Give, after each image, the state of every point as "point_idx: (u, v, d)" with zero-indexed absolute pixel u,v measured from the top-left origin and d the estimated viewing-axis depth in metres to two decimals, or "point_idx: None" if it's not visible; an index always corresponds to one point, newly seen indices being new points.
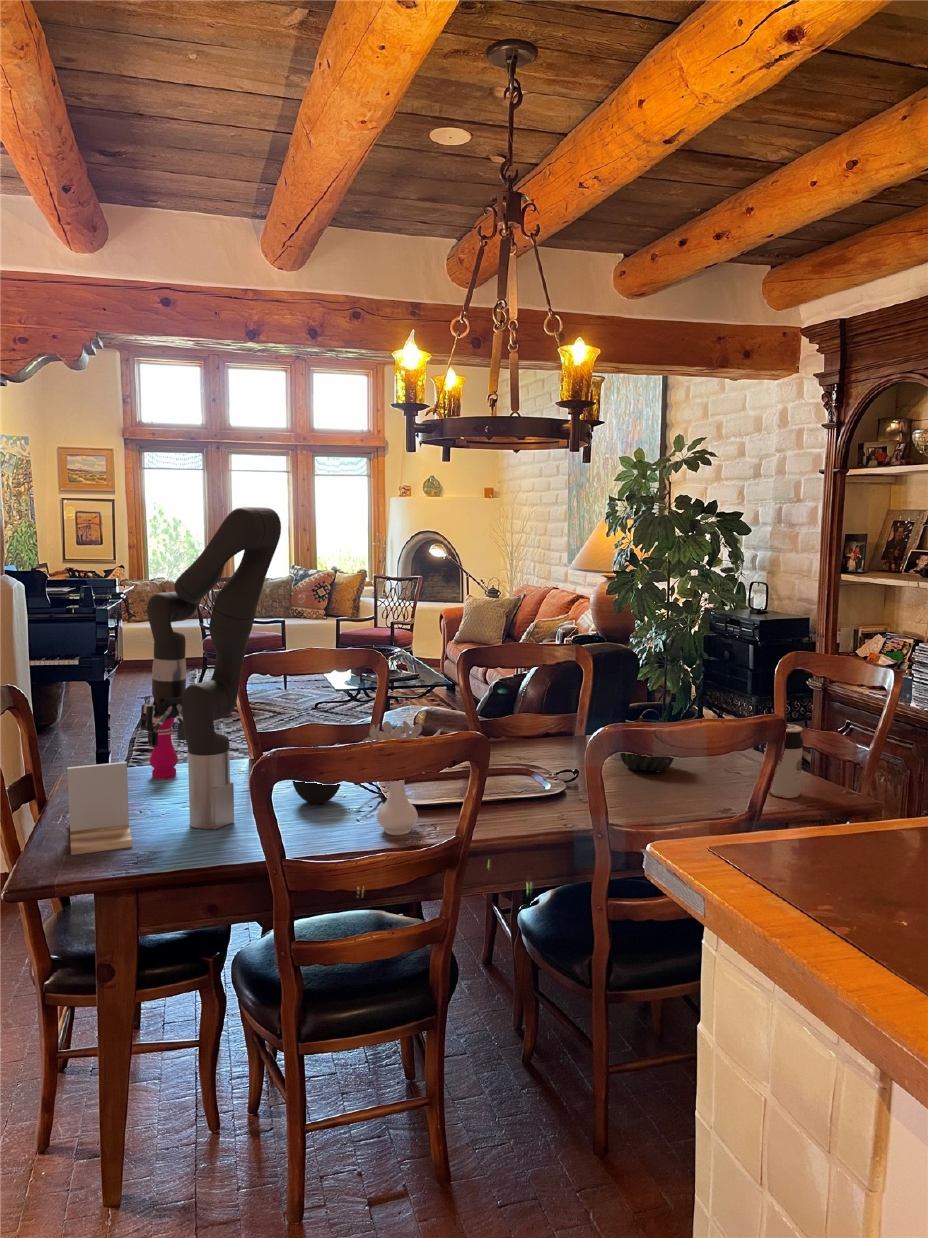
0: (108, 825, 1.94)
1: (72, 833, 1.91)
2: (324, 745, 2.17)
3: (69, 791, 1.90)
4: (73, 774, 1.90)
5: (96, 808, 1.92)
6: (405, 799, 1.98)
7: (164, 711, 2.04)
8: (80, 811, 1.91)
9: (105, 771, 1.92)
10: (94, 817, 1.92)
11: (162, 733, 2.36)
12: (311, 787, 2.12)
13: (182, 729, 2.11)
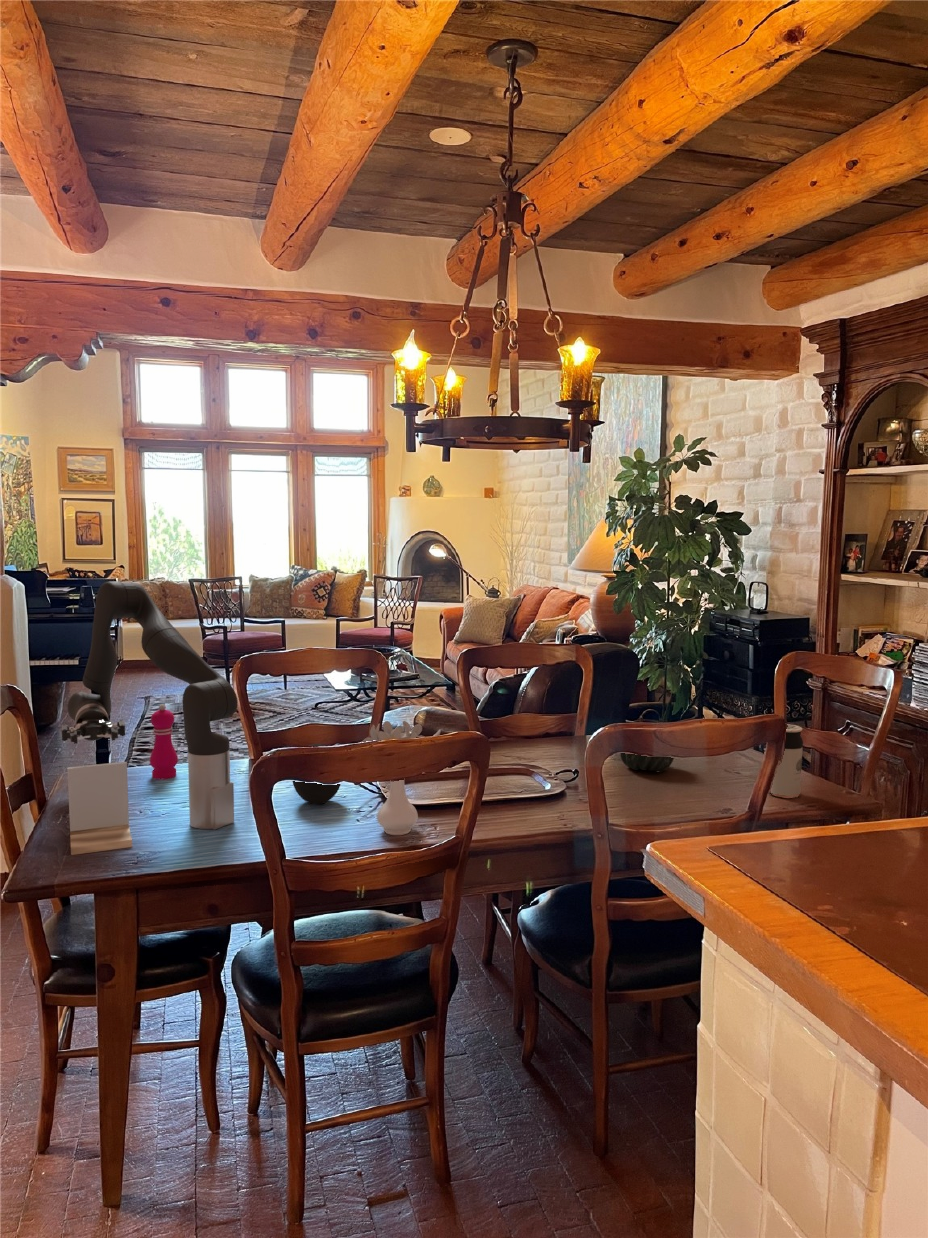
0: (108, 825, 1.94)
1: (72, 833, 1.91)
2: (324, 745, 2.17)
3: (69, 791, 1.90)
4: (73, 774, 1.90)
5: (96, 808, 1.92)
6: (405, 799, 1.98)
7: None
8: (80, 811, 1.91)
9: (105, 771, 1.92)
10: (94, 817, 1.92)
11: (162, 733, 2.36)
12: (311, 787, 2.12)
13: None
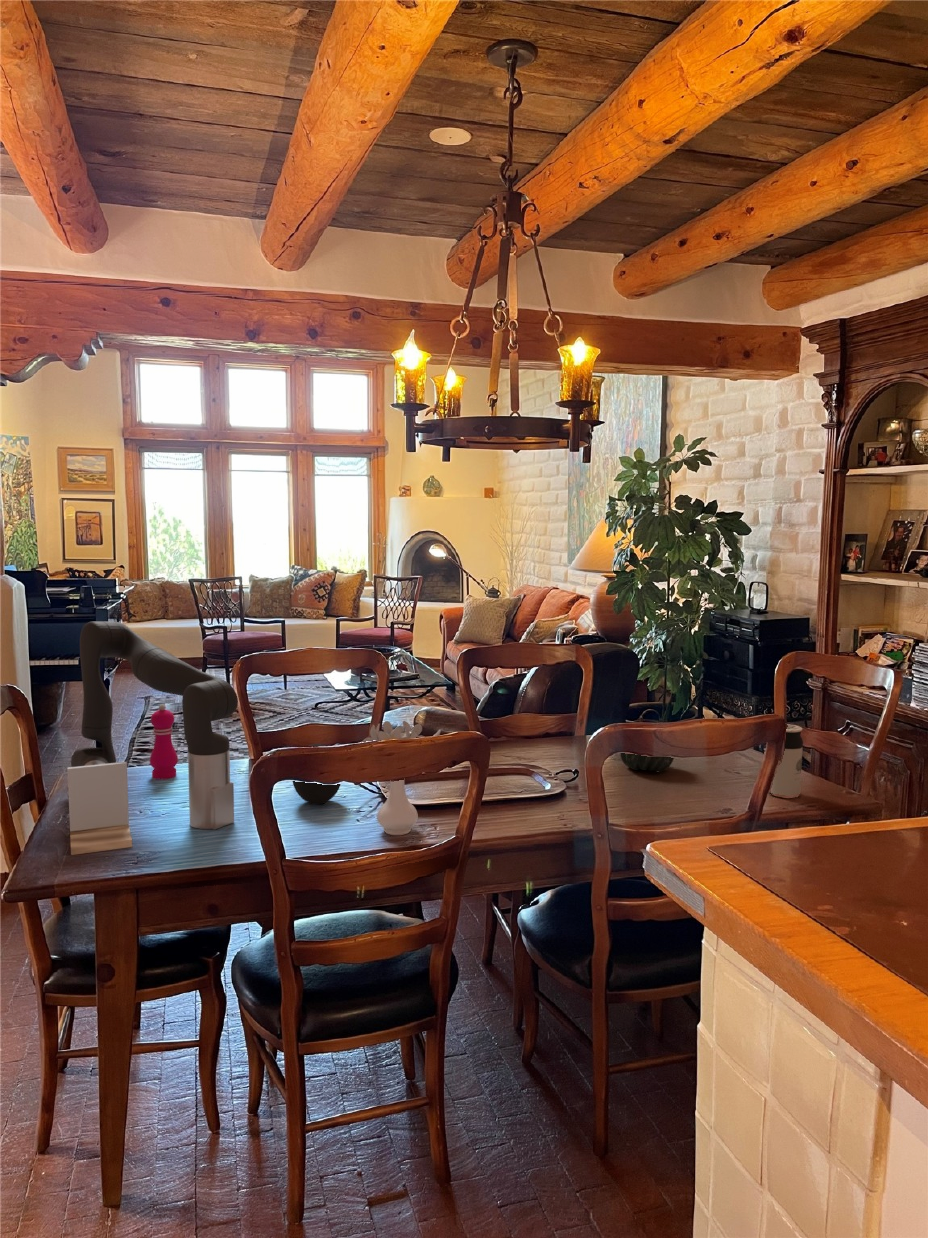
0: (108, 825, 1.94)
1: (72, 833, 1.91)
2: (324, 745, 2.17)
3: (69, 791, 1.90)
4: (73, 774, 1.90)
5: (96, 808, 1.92)
6: (405, 799, 1.98)
7: None
8: (80, 811, 1.91)
9: (105, 771, 1.92)
10: (94, 817, 1.92)
11: (162, 733, 2.36)
12: (311, 787, 2.12)
13: None
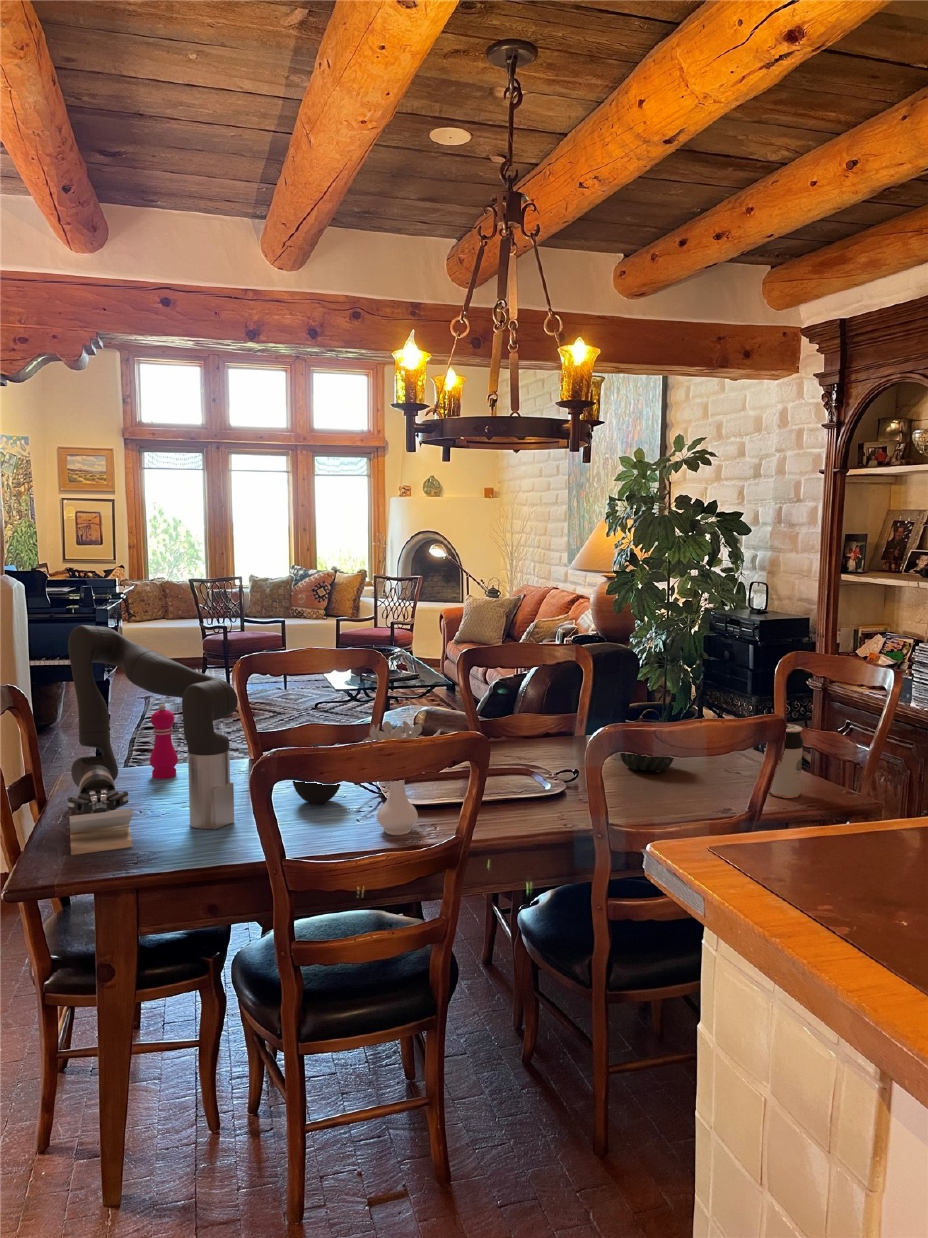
0: (108, 827, 1.93)
1: (72, 833, 1.91)
2: (324, 745, 2.17)
3: (70, 826, 1.83)
4: (75, 822, 1.80)
5: (97, 826, 1.89)
6: (405, 799, 1.98)
7: (89, 794, 1.93)
8: (81, 828, 1.88)
9: (108, 818, 1.83)
10: (95, 827, 1.90)
11: (162, 733, 2.36)
12: (311, 787, 2.12)
13: (99, 806, 1.88)
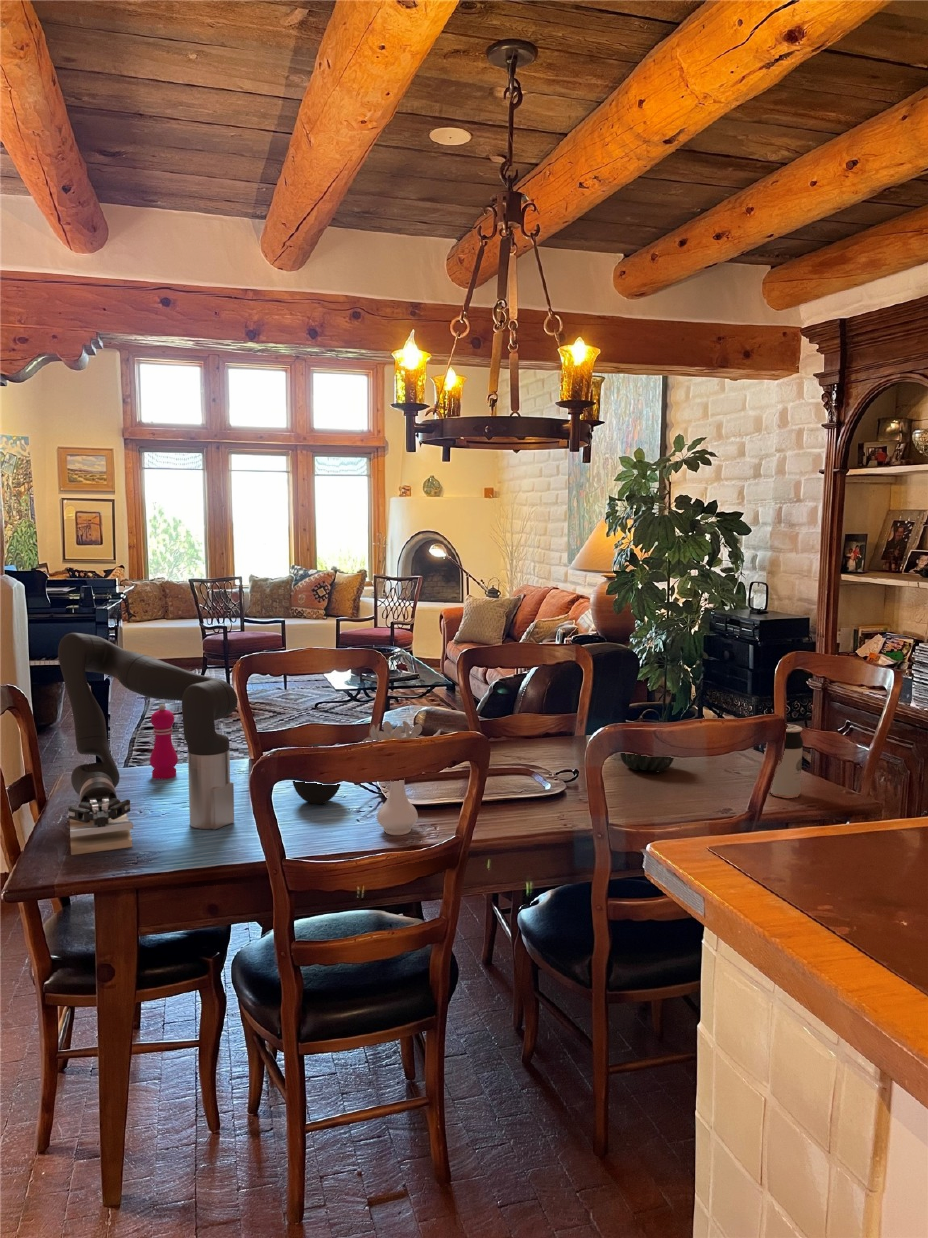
0: None
1: None
2: (324, 745, 2.17)
3: None
4: None
5: None
6: (405, 799, 1.98)
7: (90, 803, 1.87)
8: None
9: None
10: None
11: (162, 733, 2.36)
12: (311, 787, 2.12)
13: None
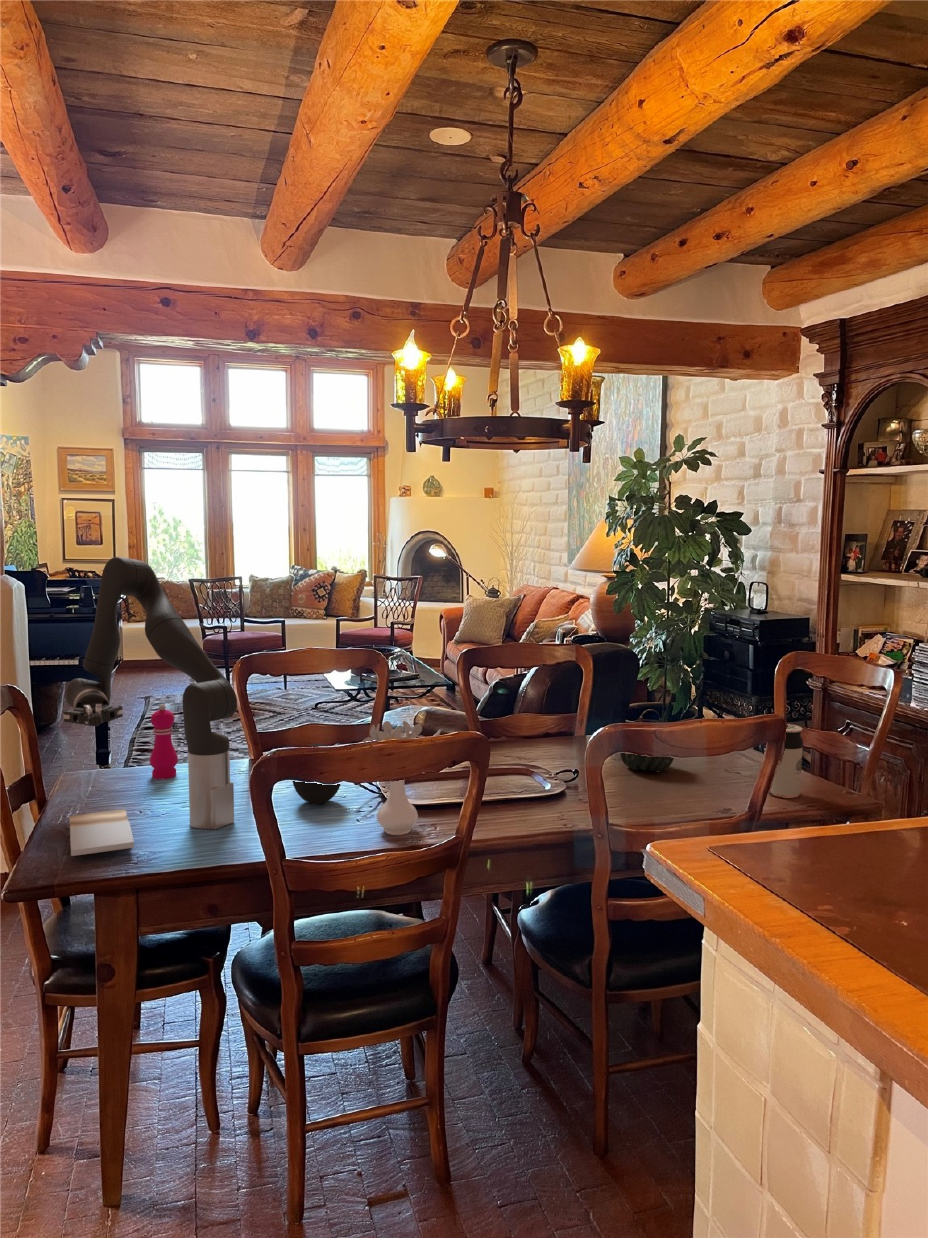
0: None
1: None
2: (324, 745, 2.17)
3: None
4: None
5: None
6: (405, 799, 1.98)
7: (84, 708, 1.97)
8: None
9: None
10: None
11: (162, 733, 2.36)
12: (311, 787, 2.12)
13: None
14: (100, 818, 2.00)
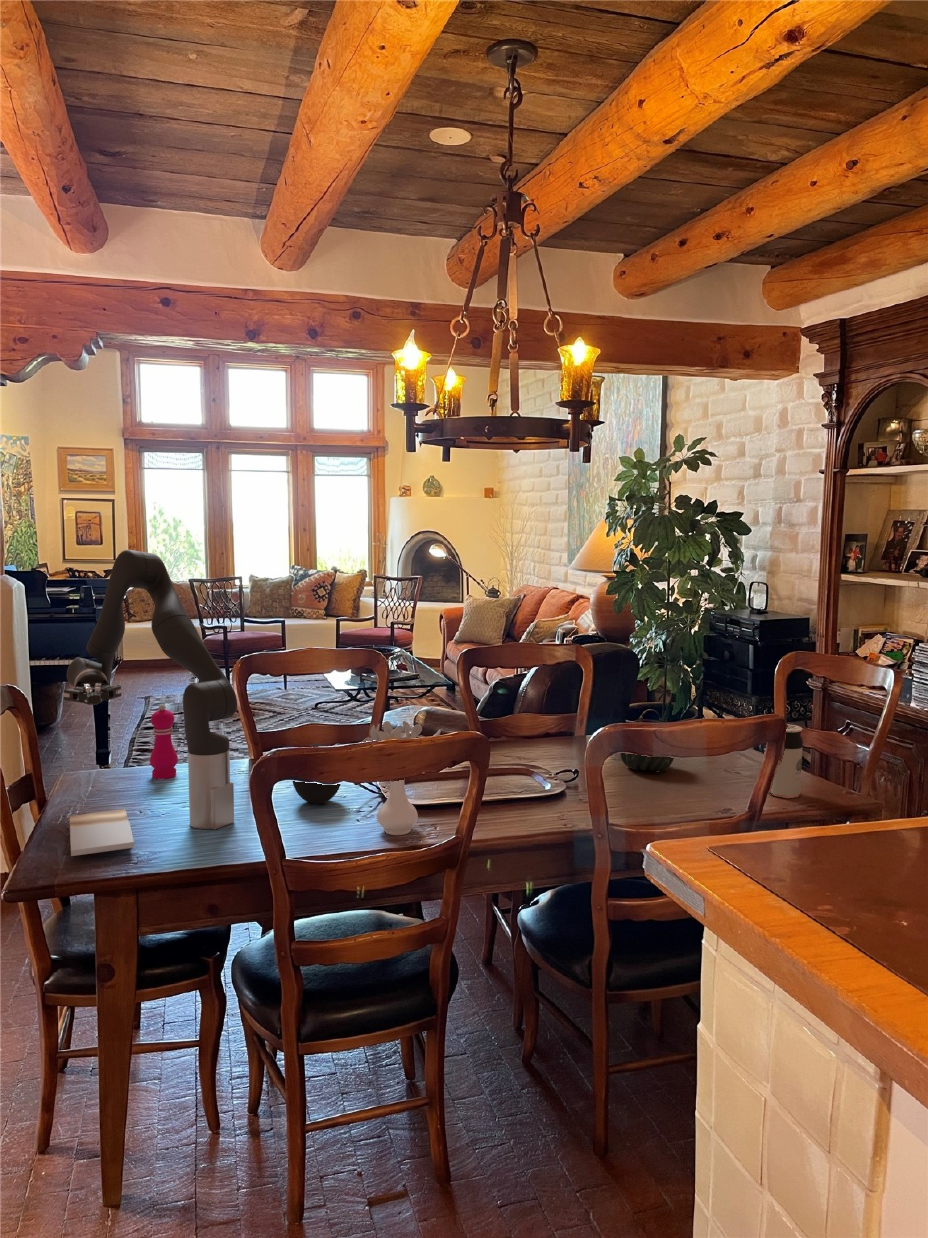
0: None
1: None
2: (324, 745, 2.17)
3: None
4: None
5: None
6: (405, 799, 1.98)
7: (84, 687, 2.02)
8: None
9: None
10: None
11: (162, 733, 2.36)
12: (311, 787, 2.12)
13: None
14: (100, 818, 2.00)
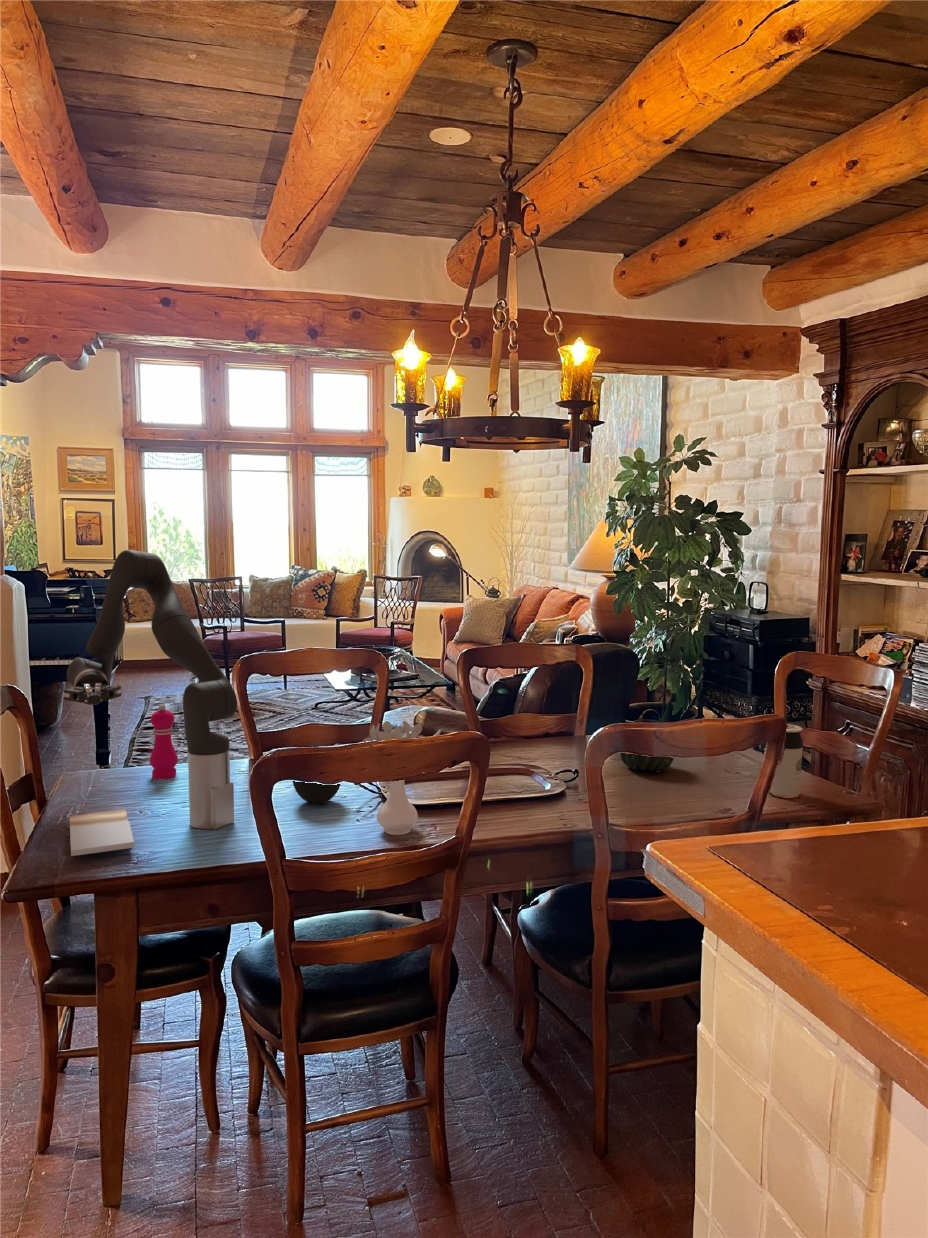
0: None
1: None
2: (324, 745, 2.17)
3: None
4: None
5: None
6: (405, 799, 1.98)
7: (84, 687, 2.02)
8: None
9: None
10: None
11: (162, 733, 2.36)
12: (311, 787, 2.12)
13: None
14: (100, 818, 2.00)
